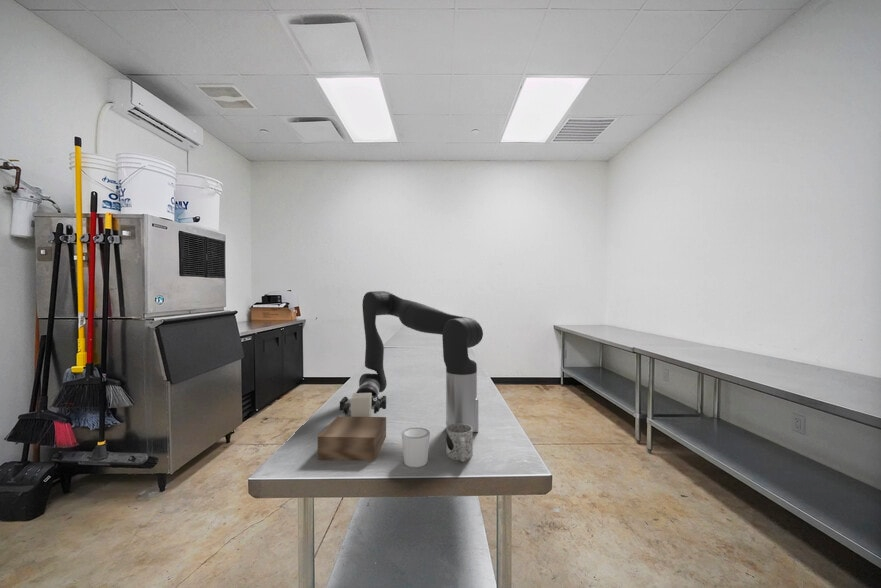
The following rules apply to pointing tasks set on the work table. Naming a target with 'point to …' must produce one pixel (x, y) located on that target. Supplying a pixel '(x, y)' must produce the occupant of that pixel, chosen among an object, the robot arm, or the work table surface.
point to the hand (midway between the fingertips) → (360, 410)
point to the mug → (459, 441)
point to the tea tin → (361, 405)
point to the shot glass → (415, 446)
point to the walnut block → (352, 439)
